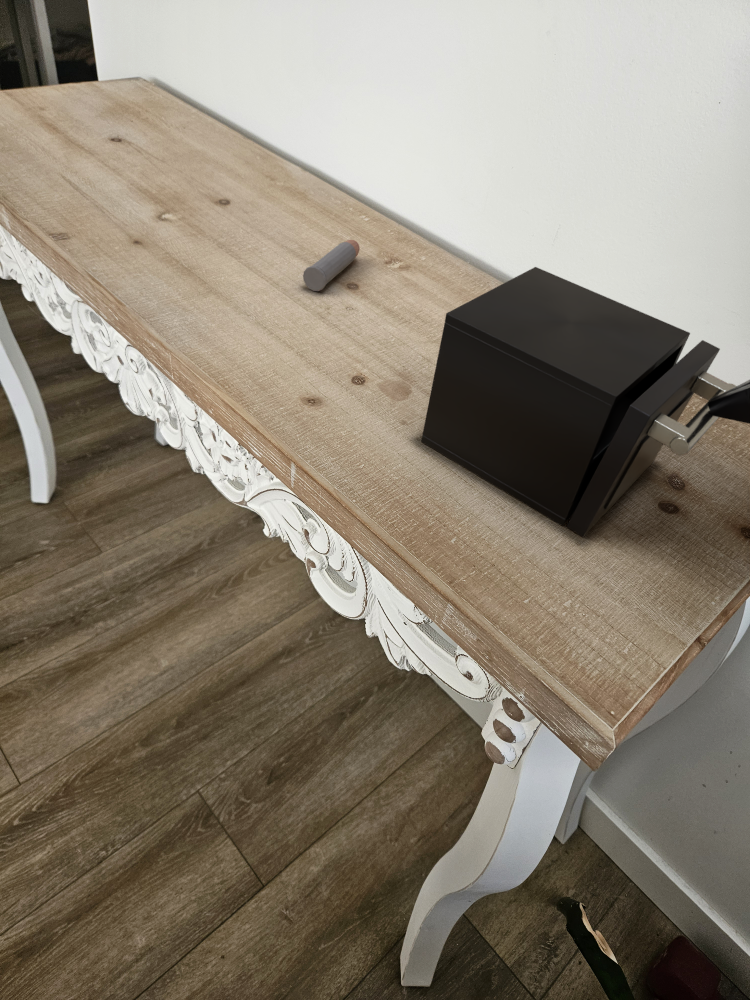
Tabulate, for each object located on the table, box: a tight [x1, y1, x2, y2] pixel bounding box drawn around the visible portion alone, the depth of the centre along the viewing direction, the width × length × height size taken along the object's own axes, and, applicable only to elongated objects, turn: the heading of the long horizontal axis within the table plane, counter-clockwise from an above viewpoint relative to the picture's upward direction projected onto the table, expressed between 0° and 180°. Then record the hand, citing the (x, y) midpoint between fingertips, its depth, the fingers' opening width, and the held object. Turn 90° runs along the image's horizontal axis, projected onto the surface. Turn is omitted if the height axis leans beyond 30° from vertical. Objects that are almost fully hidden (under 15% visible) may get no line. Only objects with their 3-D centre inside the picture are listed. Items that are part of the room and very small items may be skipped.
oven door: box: [566, 339, 737, 538], centre depth 57 cm, size 5×14×13 cm, turn 140°
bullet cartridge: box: [302, 239, 360, 292], centre depth 86 cm, size 11×3×3 cm, turn 157°
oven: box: [420, 266, 691, 527], centre depth 61 cm, size 15×14×13 cm
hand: (711, 407), depth 53 cm, fingers closed, pressing on oven door
